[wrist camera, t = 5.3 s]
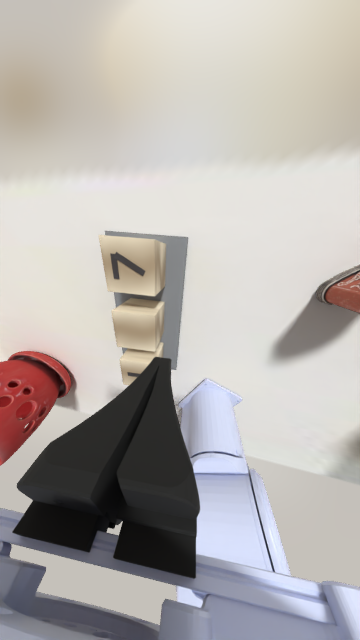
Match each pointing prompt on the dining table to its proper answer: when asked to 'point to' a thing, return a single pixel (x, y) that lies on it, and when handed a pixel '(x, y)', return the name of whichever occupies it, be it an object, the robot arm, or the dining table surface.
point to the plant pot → (27, 396)
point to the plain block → (139, 324)
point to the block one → (137, 362)
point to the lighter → (342, 290)
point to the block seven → (133, 264)
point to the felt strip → (165, 290)
